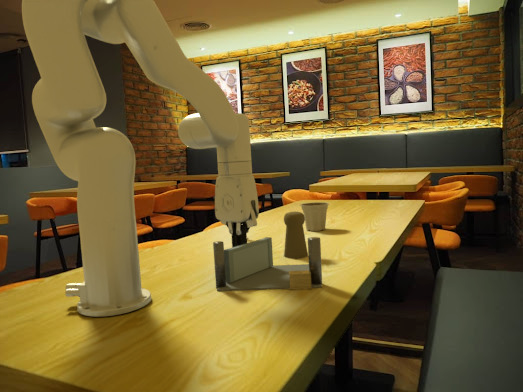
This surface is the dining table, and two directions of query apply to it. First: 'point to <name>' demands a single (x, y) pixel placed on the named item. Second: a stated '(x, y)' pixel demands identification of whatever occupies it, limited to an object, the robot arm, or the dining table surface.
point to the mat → (267, 279)
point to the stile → (314, 274)
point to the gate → (248, 259)
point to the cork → (295, 236)
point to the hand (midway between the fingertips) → (240, 250)
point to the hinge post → (219, 264)
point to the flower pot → (315, 215)
